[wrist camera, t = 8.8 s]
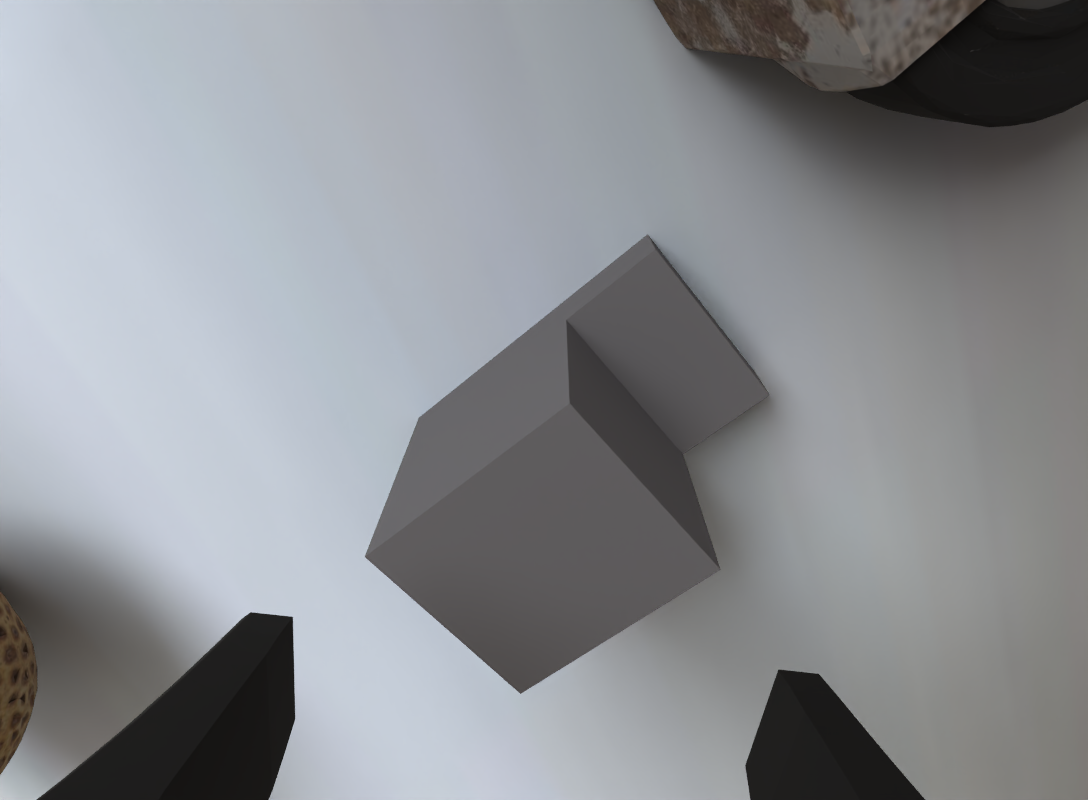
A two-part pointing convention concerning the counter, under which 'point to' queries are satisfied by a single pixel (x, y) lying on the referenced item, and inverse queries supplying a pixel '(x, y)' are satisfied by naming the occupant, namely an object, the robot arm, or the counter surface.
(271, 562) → the counter surface
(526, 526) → the stepped grey block
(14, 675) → the natural sponge
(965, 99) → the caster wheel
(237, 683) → the robot arm
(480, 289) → the counter surface
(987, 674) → the counter surface
